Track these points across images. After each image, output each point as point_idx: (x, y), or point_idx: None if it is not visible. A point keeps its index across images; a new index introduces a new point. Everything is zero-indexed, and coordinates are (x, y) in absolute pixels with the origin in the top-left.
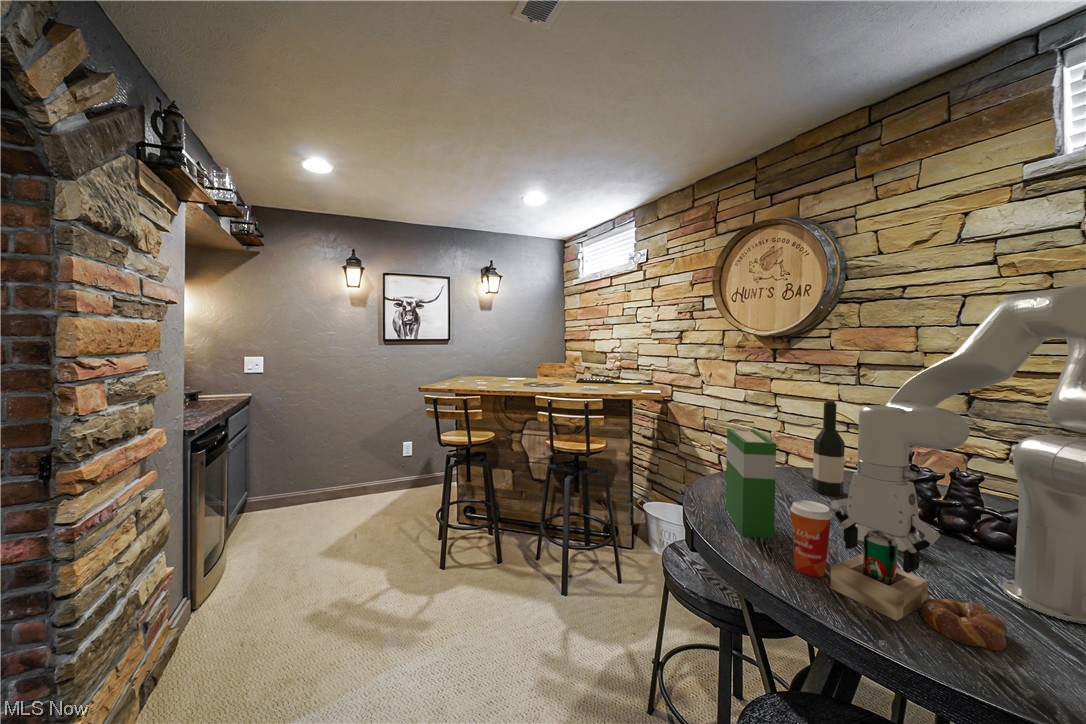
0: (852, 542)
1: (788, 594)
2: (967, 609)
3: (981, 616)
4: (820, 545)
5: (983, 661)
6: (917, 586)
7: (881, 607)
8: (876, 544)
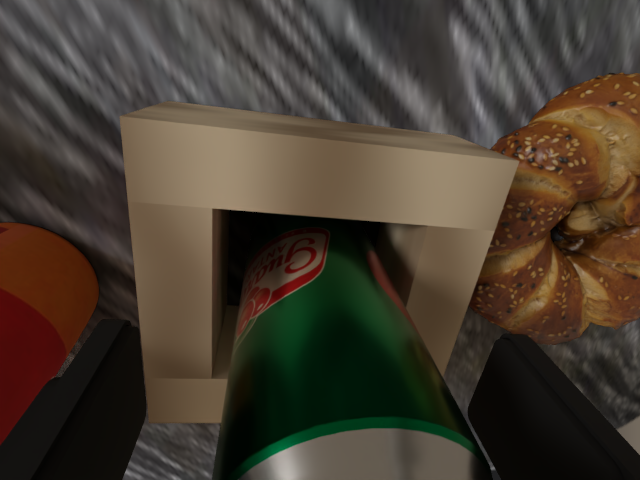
0: (125, 423)
1: (141, 467)
2: (620, 190)
3: None
4: None
5: (580, 340)
6: (476, 275)
7: None
8: None
